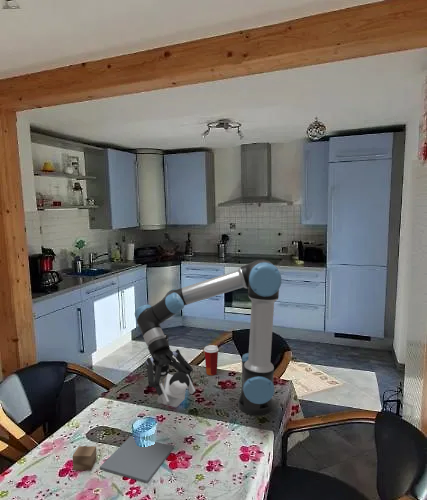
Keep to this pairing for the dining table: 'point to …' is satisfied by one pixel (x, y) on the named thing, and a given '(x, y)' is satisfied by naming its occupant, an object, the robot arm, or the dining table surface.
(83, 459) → the walnut block
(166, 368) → the white-spotted black cylinder
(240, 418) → the dining table surface
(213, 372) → the paper cup
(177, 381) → the container
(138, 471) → the slate plate
